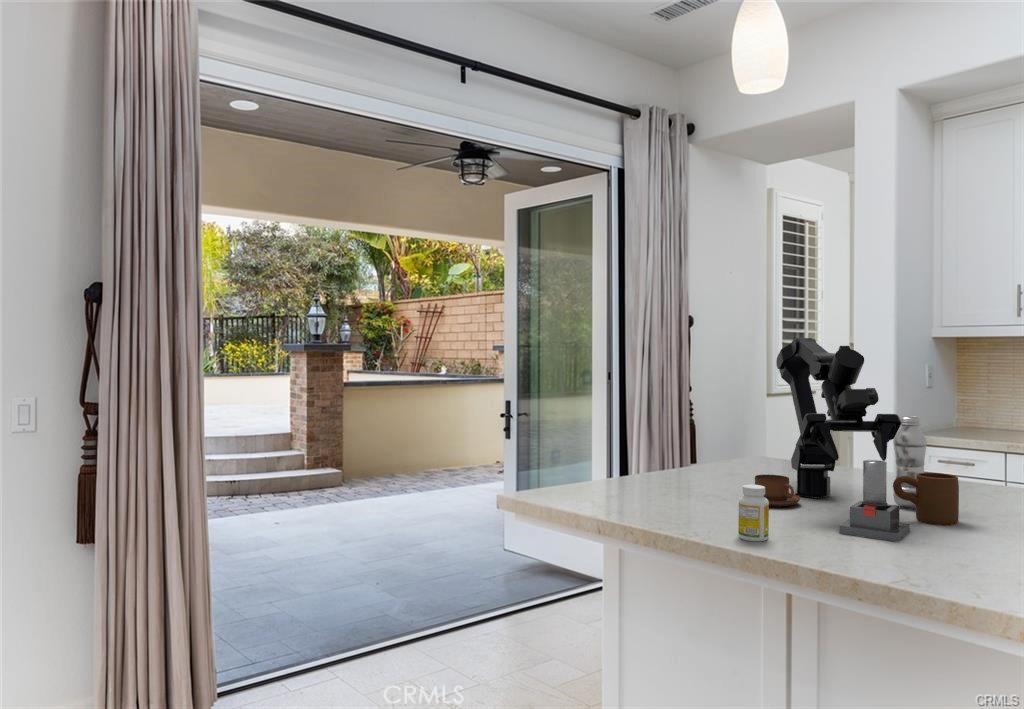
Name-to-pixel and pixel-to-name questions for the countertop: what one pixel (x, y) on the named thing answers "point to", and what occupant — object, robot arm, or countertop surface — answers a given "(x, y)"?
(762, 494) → the supplement bottle
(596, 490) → the countertop surface
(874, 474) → the grey ridged cylinder
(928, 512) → the mug
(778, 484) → the cup and saucer
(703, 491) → the countertop surface
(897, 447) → the plastic bottle
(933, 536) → the countertop surface
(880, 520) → the stand sleeve
